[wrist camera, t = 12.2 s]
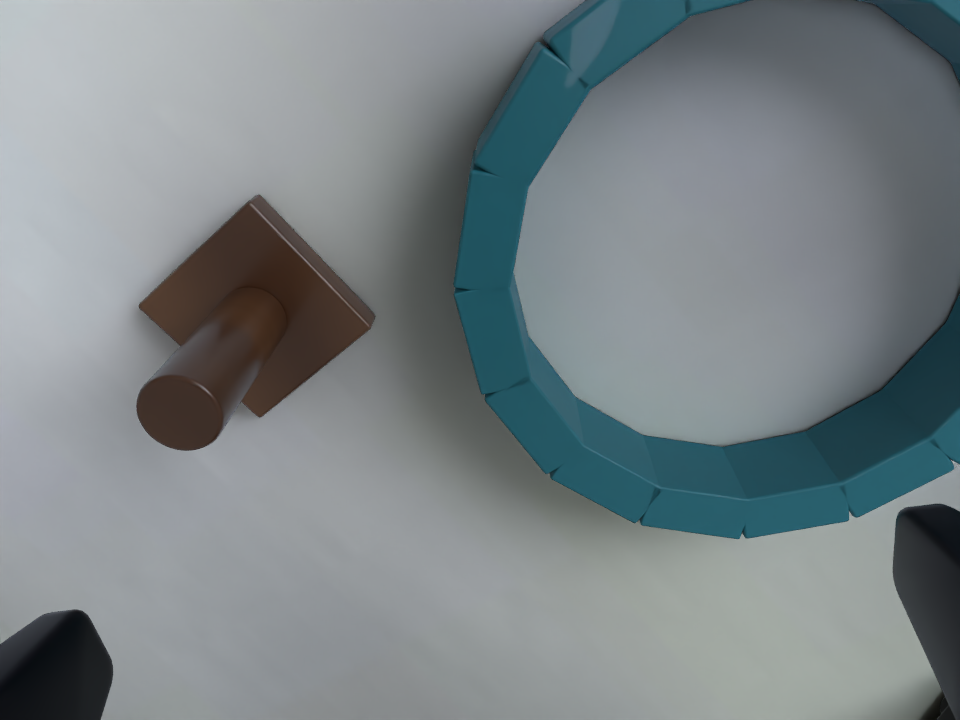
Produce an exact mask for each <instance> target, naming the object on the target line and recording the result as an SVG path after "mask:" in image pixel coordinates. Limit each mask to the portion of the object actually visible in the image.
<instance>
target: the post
mask: <svg viewBox="0 0 960 720" xmlns="http://www.w3.org/2000/svg"><path fill="white" fill-rule="evenodd" d="M139 308H140V309H141V310H142V311H143V312H144V313H145V314H146V315H147V316H148V317H149V318H150V319H152V320H153V321H154V322H155V323H156V324H157V325H158V326H159V327H160V328H161V329H162V330H164V331H165V332H166V333H167V334H168V335H169V336H170V337H171V338H172V339H173V340H174V341H176V342H177V343H178V344H179V345H180V347H179V348H178V349H177V350H176V351H175V352H174V354H173V355H172V356H171V357H170V358H169V359H168V360H167V361H166V362H165V363H164V364H163V365H162V366H161V368H160V369H159V370H158V371H157V372H156V373H155V374H154V375H153V376H152V377H151V378H150V379H149V381H148V382H147V383H146V384H145V385H144V386H143V387H142V389H141V390H140V392H139V394H138V398H137V405H136V407H137V415H138V418H139V421H140V423H141V425H142V426H143V428H144V429H145V431H146V432H147V433H148V434H149V435H150V436H151V437H152V438H153V439H155V440H156V441H157V442H159V443H161V444H163V445H165V446H167V447H170V448H173V449H177V450H185V451H189V450H196V449H200V448H203V447H205V446H207V445H209V444H211V443H212V442H214V441H215V440H216V439H217V437H218V436H219V435H220V433H221V432H222V430H223V429H224V427H225V426H226V424H227V422H228V421H229V419H230V418H231V416H232V415H233V413H234V412H235V410H236V409H237V407H238V405H239V404H240V402H242V403H243V404H244V405H245V406H246V407H248V408H249V409H250V410H251V411H252V412H253V413H254V414H255V415H256V416H257V417H262V416H264V415H265V414H266V413H267V412H268V411H270V410H271V409H272V408H273V407H275V406H276V405H277V404H278V403H280V402H281V401H282V400H283V399H285V398H286V397H287V396H288V395H289V394H291V393H292V392H293V391H294V390H296V389H297V388H298V387H299V386H301V385H302V384H303V383H304V382H306V381H307V380H308V379H309V378H310V377H312V376H313V375H314V374H315V373H317V372H318V371H319V370H320V369H322V368H323V367H324V366H325V365H327V364H328V363H329V362H330V361H331V360H333V359H334V358H335V357H336V356H338V355H339V354H340V353H341V352H343V351H344V350H345V349H346V348H348V347H349V346H350V345H351V344H352V343H354V342H355V341H356V340H357V339H359V338H360V337H361V336H362V335H364V334H365V333H366V332H367V331H369V330H370V329H371V327H372V324H373V322H374V319H375V314H374V313H373V312H372V311H371V310H370V309H369V308H368V307H367V306H366V305H365V304H364V303H363V302H362V301H361V300H360V299H359V298H358V297H357V296H356V295H355V293H354V292H353V291H352V290H351V289H350V288H349V287H348V286H347V285H346V284H345V283H344V282H343V281H342V280H341V279H340V278H339V277H338V276H337V275H336V274H335V273H334V272H333V271H332V269H331V268H330V267H329V266H328V265H327V264H326V263H325V262H324V261H323V260H322V259H321V258H320V257H319V256H318V255H317V254H316V253H315V252H314V251H313V250H312V249H311V248H310V247H309V245H308V244H307V243H306V242H305V241H304V240H303V239H302V238H301V237H300V236H299V235H298V234H297V233H296V232H295V231H294V230H293V229H292V228H291V227H290V226H289V225H288V224H287V223H286V221H285V220H284V219H283V218H282V217H281V216H280V215H279V214H278V213H277V212H276V211H275V210H274V209H273V208H272V207H271V206H270V205H269V204H268V203H267V202H266V201H265V200H264V199H263V198H262V196H260V195H256V196H254V197H253V198H252V199H251V200H249V201H248V202H247V203H246V204H245V205H244V206H243V207H242V208H241V209H240V210H238V211H237V212H236V213H235V214H234V215H233V216H232V217H231V218H230V219H229V220H228V221H227V222H226V223H225V224H224V225H222V226H221V227H220V228H219V229H218V230H217V231H216V232H215V233H214V234H213V235H212V236H211V237H210V238H209V239H208V240H207V241H205V242H204V243H203V244H202V245H201V246H200V247H199V248H198V249H197V250H196V251H195V252H194V253H193V254H192V255H191V256H190V257H188V258H187V259H186V260H185V261H184V262H183V263H182V264H181V265H180V266H179V267H178V268H177V269H176V270H175V271H174V272H172V273H171V274H170V275H169V276H168V277H167V278H166V279H165V280H164V281H163V282H162V283H161V284H160V285H159V286H158V287H157V288H155V289H154V290H153V291H152V292H151V293H150V294H149V295H148V296H147V297H146V298H145V299H144V300H143V301H142V302H141V303H140V304H139Z"/></svg>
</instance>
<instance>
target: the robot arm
mask: <svg viewBox="0 0 960 720" xmlns="http://www.w3.org/2000/svg"><path fill="white" fill-rule="evenodd" d="M893 578H894V583H895V586H896V590H897V592H898V595H899V597H900V599H901V601H902V604H903V606H904V608H905V610H906V612H907V615H908V617H909V619H910V621H911V623H912V625H913V628H914V630H915V632H916V634H917V636H918V639H919V641H920V643H921V645H922V647H923V649H924V652H925V654H926V656H927V658H928V660H929V663H930V665H931V667H932V669H933V671H934V673H935V676H936V678H937V680H938V682H939V684H940V687H941V689H942V691H943V693H944V695H945V697H946V700H947V702H948V704H949V706H950V708H951V710H952V712H953V714H954V717H955V719H956V720H960V511H958V510H956V509H954V508H951V507H949V506H947V505H944V504H930V505H922V506H914V507H906V508H904V509H902V510H901V511H900V512H899V513H898V516H897V519H896V529H895V543H894V557H893ZM112 678H113V665H112V660H111V658H110V656H109V654H108V652H107V650H106V648H105V646H104V644H103V642H102V640H101V638H100V636H99V635H98V633H97V631H96V629H95V627H94V625H93V623H92V621H91V619H90V618H89V616H88V615H87V614H86V613H84V612H83V611H81V610H75V609H74V610H66V611H58V612H51V613H47V614H44V615H42V616H40V617H38V618H37V619H36V620H34V621H33V622H31V623H30V624H28V625H27V626H26V627H24V628H23V629H21V630H20V631H18V632H17V633H16V634H14V635H13V636H11V637H10V638H8V639H7V640H6V641H4V642H3V643H1V644H0V720H101V716H102V713H103V710H104V707H105V703H106V700H107V697H108V694H109V690H110V687H111V684H112Z"/></svg>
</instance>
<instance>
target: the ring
mask: <svg viewBox="0 0 960 720" xmlns="http://www.w3.org/2000/svg"><path fill="white" fill-rule="evenodd" d="M747 1H751V0H586V1H584V2H583V3H582V4H580V5H579V6H578V7H577V8H575V9H574V10H573V11H571V12H570V13H569V14H568V15H566V16H565V17H564V18H562V19H561V20H560V21H559V22H557V23H556V24H555V25H553V26H552V27H551V28H550V29H548V30H547V31H546V32H545V33H544V35H543V38H544V40H545V42H546V44H547V45H548V47H549V48H548V47H547V46H545V45H544V44H543V43H541V42H536V43H535V44H534V46H533V47H532V49H531V51H530V52H529V54H528V56H527V58H526V59H525V61H524V63H523V64H522V66H521V68H520V69H519V71H518V73H517V75H516V76H515V78H514V80H513V81H512V83H511V85H510V86H509V88H508V90H507V92H506V93H505V95H504V97H503V98H502V100H501V102H500V103H499V105H498V107H497V108H496V110H495V112H494V114H493V115H492V117H491V119H490V120H489V122H488V124H487V125H486V127H485V129H484V131H483V132H482V134H481V136H480V137H479V139H478V142H477V148H476V150H474V152H473V157H472V162H471V168H470V173H469V180H468V187H467V194H466V201H465V208H464V214H463V221H462V228H461V235H460V242H459V249H458V256H457V262H456V269H455V276H454V283H453V285H454V287H455V291H454V298H455V302H456V305H457V309H458V312H459V316H460V320H461V323H462V327H463V331H464V334H465V338H466V341H467V345H468V349H469V352H470V356H471V360H472V363H473V367H474V370H475V374H476V378H477V381H478V385H479V388H480V392H481V394H483V395H484V394H485V401H486V403H487V404H488V405H489V406H490V407H491V409H492V410H493V411H494V412H495V413H496V415H497V416H498V417H499V418H500V420H501V421H502V422H503V423H504V424H505V426H506V427H507V428H508V429H509V430H510V432H511V433H512V434H513V435H514V437H515V438H516V439H517V440H518V441H519V443H520V444H521V445H522V446H523V447H524V449H525V450H526V451H527V452H528V454H529V455H530V456H531V457H532V458H533V460H534V461H535V462H536V463H537V464H538V466H539V467H540V468H541V469H542V471H543V472H544V473H545V474H548V473H550V478H551V479H552V480H554V481H556V482H558V483H560V484H562V485H564V486H565V487H567V488H569V489H571V490H573V491H575V492H577V493H579V494H580V495H582V496H584V497H586V498H588V499H590V500H592V501H594V502H595V503H597V504H599V505H601V506H603V507H605V508H607V509H609V510H611V511H612V512H614V513H616V514H618V515H620V516H622V517H624V518H626V519H627V520H629V521H631V522H633V523H636V522H637V521H638V520H640V524H641V525H642V526H649V527H656V528H663V529H670V530H677V531H684V532H691V533H698V534H705V535H712V536H720V537H727V538H734V539H739V538H740V536H741V534H742V533H743V535H744V537H745V538H753V537H759V536H765V535H771V534H776V533H782V532H788V531H794V530H800V529H805V528H811V527H817V526H823V525H829V524H834V523H840V522H846V521H848V520H849V511H850V513H851V514H852V516H854V517H860V516H862V515H864V514H866V513H868V512H870V511H872V510H874V509H876V508H878V507H880V506H882V505H884V504H886V503H888V502H890V501H892V500H894V499H896V498H898V497H900V496H902V495H904V494H906V493H908V492H910V491H912V490H914V489H916V488H918V487H920V486H922V485H924V484H926V483H928V482H930V481H932V480H934V479H936V478H938V477H940V476H942V475H944V474H946V473H948V472H950V471H952V470H953V469H954V465H953V463H952V461H951V460H953V461H955V462H956V463H958V464H960V294H959V296H958V298H957V300H956V302H955V305H954V307H953V309H952V311H951V313H950V316H949V318H948V320H947V322H946V323H945V324H944V325H943V326H942V328H941V329H940V330H939V331H938V332H937V333H936V334H935V335H934V336H933V337H932V338H931V339H930V340H929V341H928V342H927V343H926V344H925V345H924V346H923V347H922V348H921V349H920V350H919V352H918V353H917V354H916V355H915V356H914V357H913V358H912V359H911V360H910V361H909V362H908V363H907V364H906V365H905V366H904V367H903V368H902V369H901V370H900V371H899V372H898V373H897V374H896V376H895V377H894V378H893V379H892V380H891V381H890V382H889V383H888V384H887V385H886V386H885V387H884V388H883V389H882V390H881V391H879V392H877V393H875V394H873V395H872V396H870V397H868V398H866V399H864V400H862V401H861V402H859V403H857V404H855V405H853V406H851V407H849V408H848V409H846V410H844V411H842V412H840V413H838V414H837V415H835V416H833V417H831V418H829V419H827V420H825V421H824V422H822V423H820V424H818V425H816V426H814V427H812V428H811V429H809V430H807V431H805V432H799V433H794V434H789V435H783V436H778V437H773V438H767V439H762V440H757V441H751V442H746V443H741V444H736V445H730V446H725V447H719V446H712V445H706V444H699V443H692V442H685V441H678V440H671V439H665V438H658V437H651V436H644V435H641V434H640V433H638V432H636V431H634V430H632V429H631V428H629V427H627V426H625V425H624V424H622V423H620V422H618V421H616V420H615V419H613V418H611V417H609V416H608V415H606V414H604V413H602V412H601V411H599V410H597V409H595V408H593V407H592V406H590V405H588V404H586V403H585V402H583V401H581V400H579V399H577V398H576V397H575V396H574V395H573V394H572V392H571V391H570V390H569V388H568V387H567V386H566V384H565V383H564V382H563V380H562V379H561V378H560V377H559V375H558V374H557V373H556V371H555V370H554V369H553V367H552V366H551V365H550V364H549V362H548V361H547V360H546V358H545V357H544V356H543V354H542V353H541V352H540V350H539V349H538V348H537V347H536V345H535V344H534V343H533V341H532V340H531V339H530V337H529V336H528V332H527V328H526V323H525V319H524V315H523V311H522V307H521V302H520V298H519V294H518V290H517V285H516V281H515V277H514V273H513V271H514V265H515V259H516V254H517V248H518V243H519V237H520V232H521V226H522V221H523V215H524V210H525V204H526V199H527V193H528V188H529V186H530V184H531V183H532V181H533V180H534V178H535V176H536V175H537V173H538V172H539V170H540V169H541V167H542V165H543V164H544V162H545V161H546V159H547V157H548V156H549V154H550V153H551V151H552V150H553V148H554V146H555V145H556V143H557V142H558V140H559V139H560V137H561V135H562V134H563V132H564V131H565V129H566V128H567V126H568V124H569V123H570V121H571V120H572V118H573V117H574V115H575V113H576V112H577V110H578V109H579V107H580V106H581V104H582V102H583V101H584V99H585V98H586V96H587V95H588V93H589V91H590V90H591V89H592V88H594V87H595V86H596V85H598V84H599V83H601V82H602V81H603V80H605V79H606V78H607V77H609V76H610V75H611V74H613V73H614V72H615V71H617V70H618V69H620V68H621V67H622V66H624V65H625V64H626V63H628V62H629V61H630V60H632V59H633V58H634V57H636V56H637V55H639V54H640V53H641V52H643V51H644V50H645V49H647V48H648V47H649V46H651V45H652V44H653V43H655V42H656V41H658V40H659V39H660V38H662V37H663V36H664V35H666V34H667V33H668V32H670V31H671V30H672V29H674V28H675V27H677V26H678V25H679V24H681V23H682V22H683V21H685V20H686V19H687V18H689V17H690V16H693V15H697V14H701V13H704V12H708V11H712V10H716V9H720V8H724V7H728V6H731V5H735V4H739V3H743V2H747ZM856 1H862V2H868V3H874V4H875V5H876V6H878V7H879V8H880V9H882V10H883V11H884V12H886V13H887V14H888V15H890V16H891V17H892V18H893V19H895V20H896V21H897V22H899V23H900V24H901V25H903V26H904V27H905V28H907V29H908V30H909V31H911V32H912V33H913V34H914V35H916V36H917V37H918V38H920V39H921V40H922V41H924V42H925V43H926V44H928V45H929V46H930V47H931V48H933V49H934V50H935V51H937V52H938V53H939V54H941V55H942V56H943V57H945V58H946V59H947V60H948V61H950V62H951V64H952V66H953V69H954V71H955V73H956V75H957V78H958V80H959V82H960V0H856Z"/></svg>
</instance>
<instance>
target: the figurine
mask: <svg viewBox="0 0 960 720" xmlns="http://www.w3.org/2000/svg"><path fill="white" fill-rule="evenodd" d="M940 710H941V715H940V716H939V717H938V718H937V720H956V719H955V717H954V714H953V712H952V710H951V708H950V706H949V704H948V702H947V700H946V697H945V698H943V699H942V701H941V704H940Z"/></svg>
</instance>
